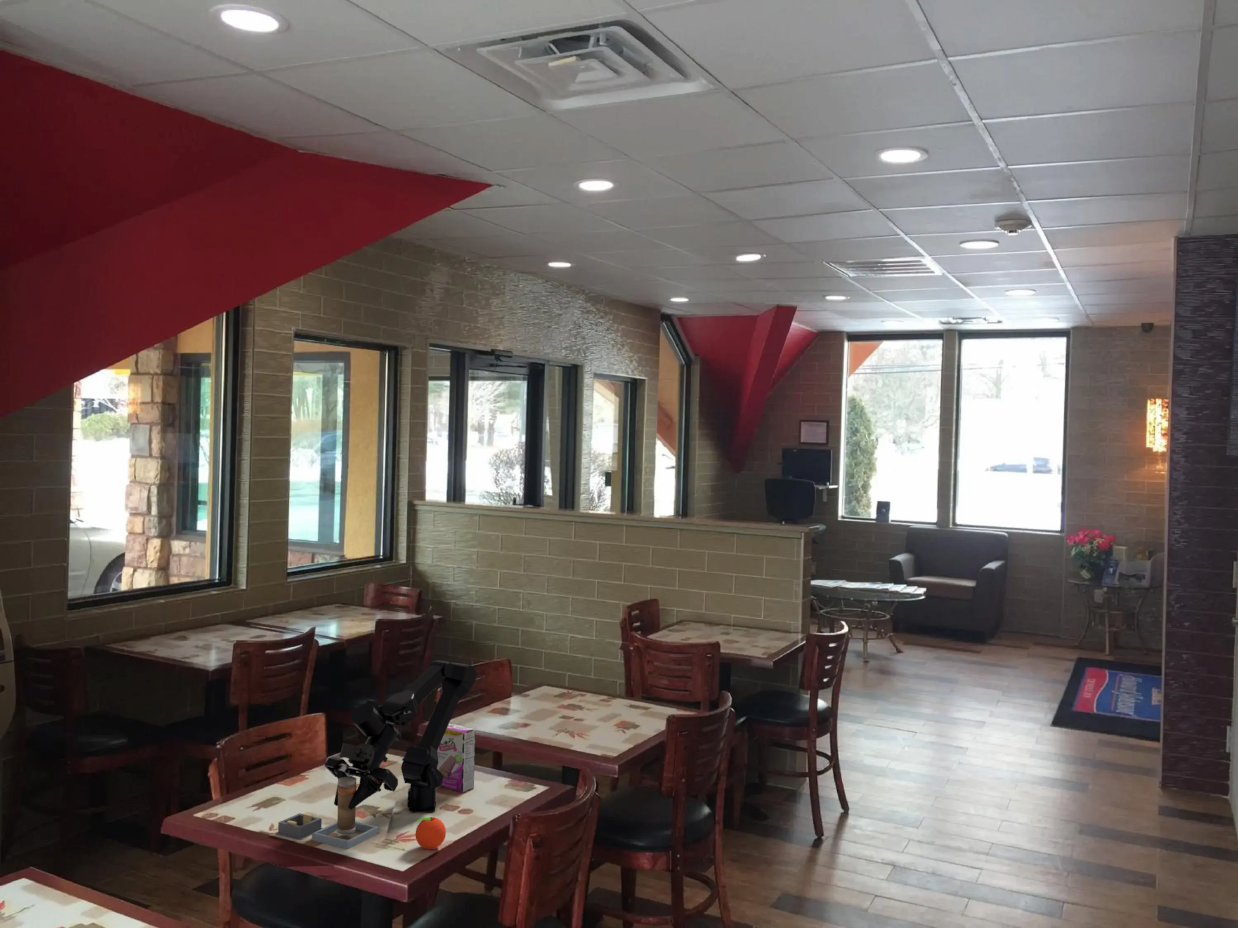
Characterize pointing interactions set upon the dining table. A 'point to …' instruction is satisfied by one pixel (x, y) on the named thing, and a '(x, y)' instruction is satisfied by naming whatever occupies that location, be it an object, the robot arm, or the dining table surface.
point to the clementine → (430, 832)
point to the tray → (324, 838)
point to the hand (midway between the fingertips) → (342, 806)
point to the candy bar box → (457, 758)
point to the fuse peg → (346, 805)
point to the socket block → (299, 826)
